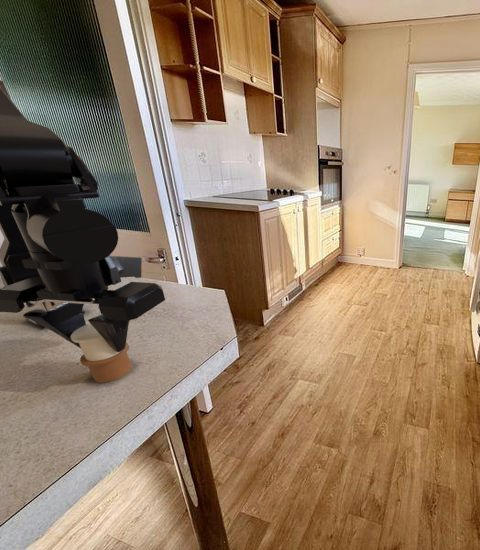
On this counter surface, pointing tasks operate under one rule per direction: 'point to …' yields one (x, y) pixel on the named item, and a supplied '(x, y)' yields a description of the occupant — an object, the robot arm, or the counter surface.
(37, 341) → the counter surface
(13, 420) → the counter surface
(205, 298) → the counter surface
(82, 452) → the counter surface
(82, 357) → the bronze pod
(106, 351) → the cream pod
